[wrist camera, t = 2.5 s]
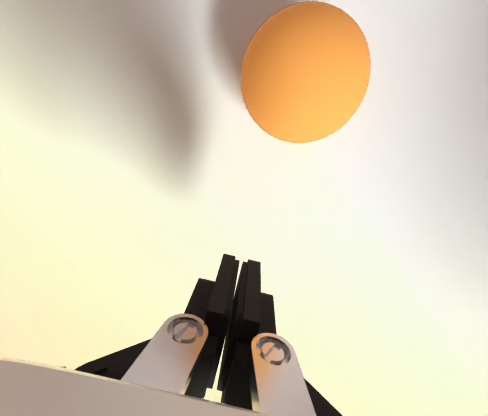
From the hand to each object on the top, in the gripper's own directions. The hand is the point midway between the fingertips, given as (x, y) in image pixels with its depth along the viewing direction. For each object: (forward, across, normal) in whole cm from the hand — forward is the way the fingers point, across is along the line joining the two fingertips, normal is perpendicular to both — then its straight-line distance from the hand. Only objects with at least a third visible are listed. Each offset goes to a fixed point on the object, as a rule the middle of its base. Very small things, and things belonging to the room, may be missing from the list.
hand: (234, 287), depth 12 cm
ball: (+4, -1, -10) cm, 10 cm away
